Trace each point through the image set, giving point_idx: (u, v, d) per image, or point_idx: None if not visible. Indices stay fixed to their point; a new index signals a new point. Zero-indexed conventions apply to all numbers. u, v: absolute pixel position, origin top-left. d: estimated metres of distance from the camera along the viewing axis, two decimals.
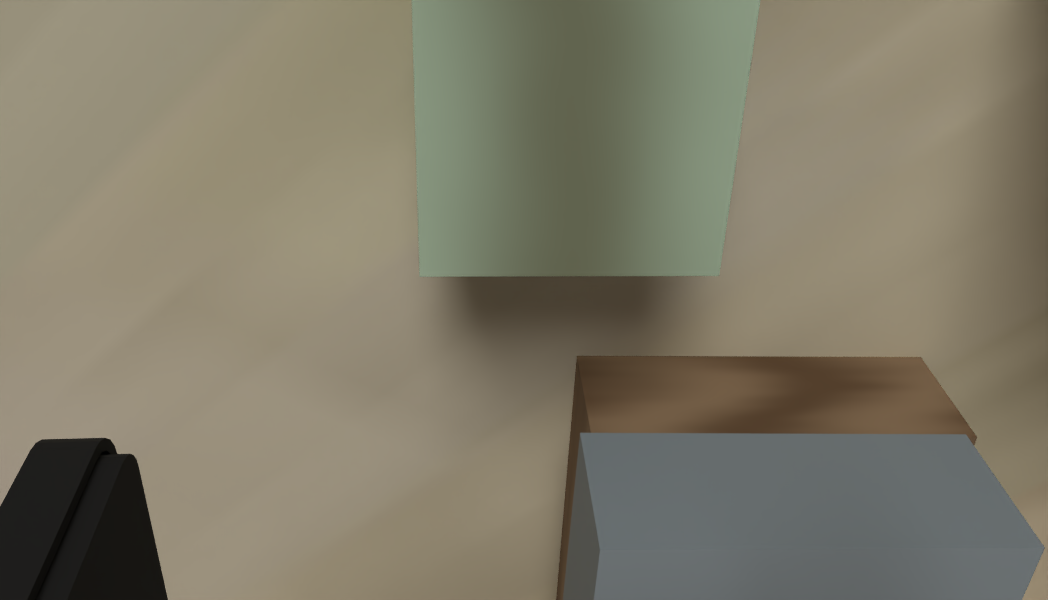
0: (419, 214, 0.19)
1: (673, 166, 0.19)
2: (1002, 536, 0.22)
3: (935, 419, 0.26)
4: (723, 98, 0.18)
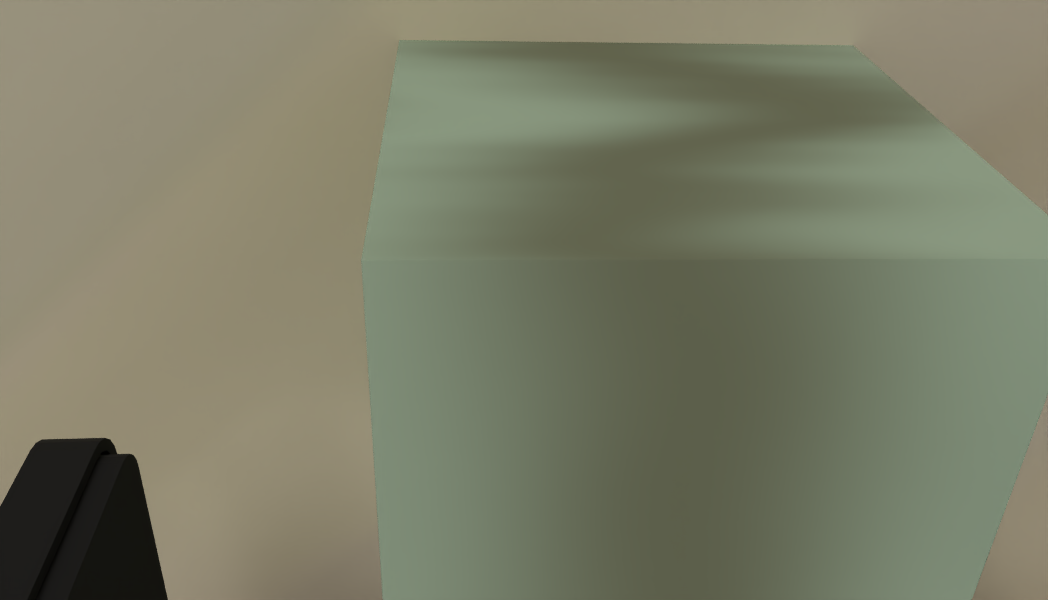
0: None
1: (866, 576, 0.10)
2: None
3: None
4: (976, 473, 0.09)
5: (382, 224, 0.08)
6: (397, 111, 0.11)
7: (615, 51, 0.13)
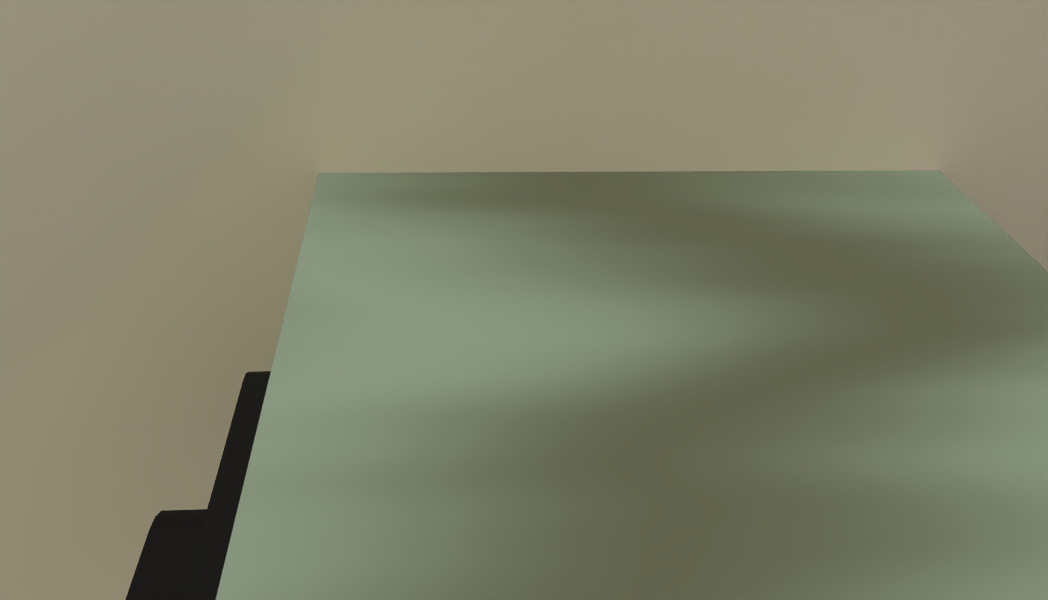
0: None
1: None
2: None
3: None
4: None
5: None
6: (296, 329, 0.07)
7: (620, 192, 0.09)
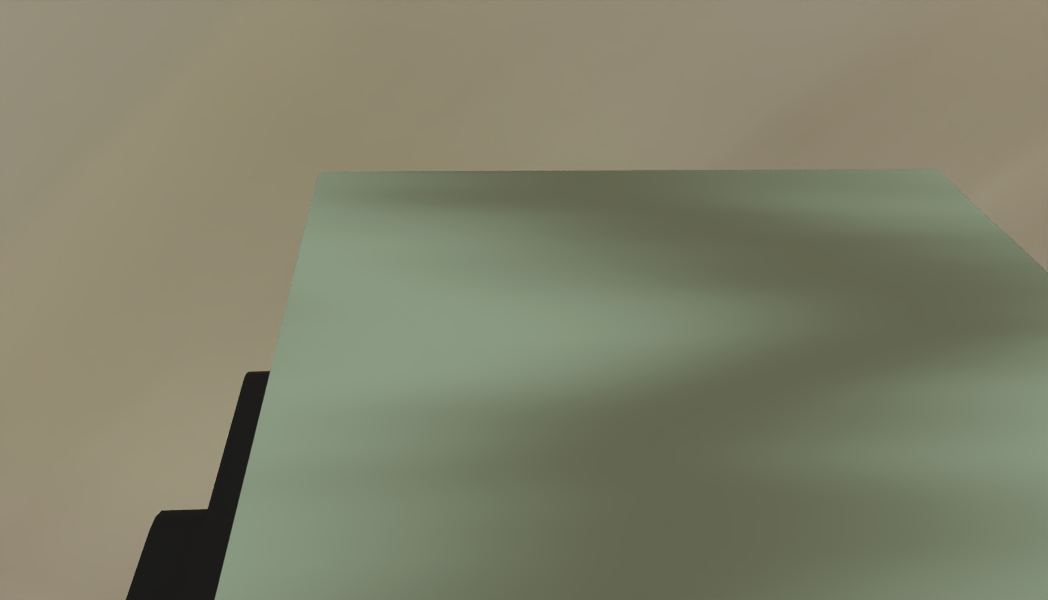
0: None
1: None
2: None
3: None
4: None
5: None
6: (296, 327, 0.07)
7: (618, 191, 0.09)
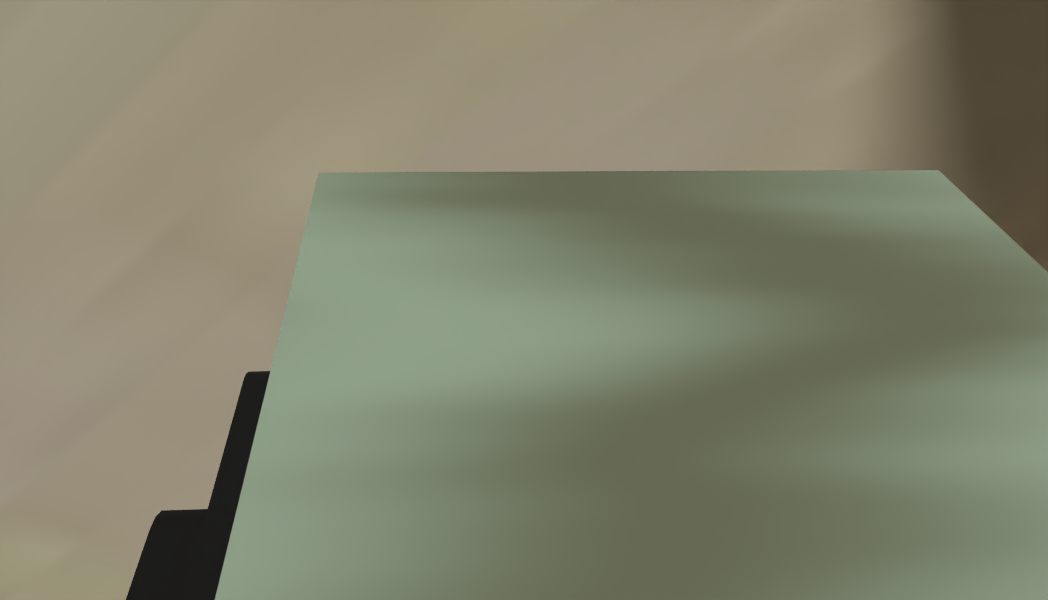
0: None
1: None
2: None
3: None
4: None
5: None
6: (296, 329, 0.07)
7: (619, 192, 0.09)
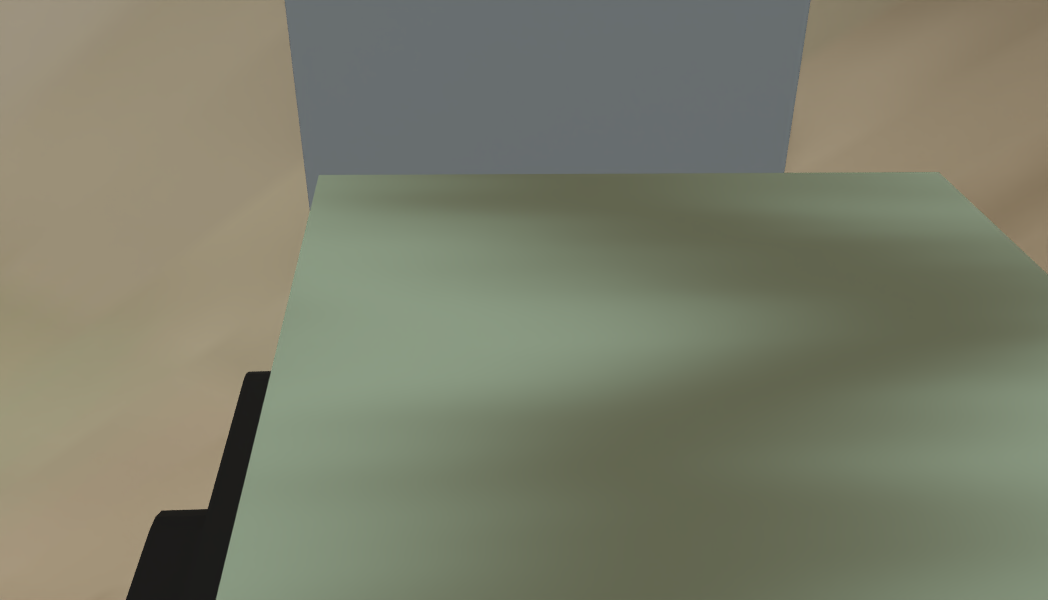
0: None
1: None
2: None
3: None
4: None
5: None
6: (295, 332, 0.07)
7: (619, 194, 0.09)
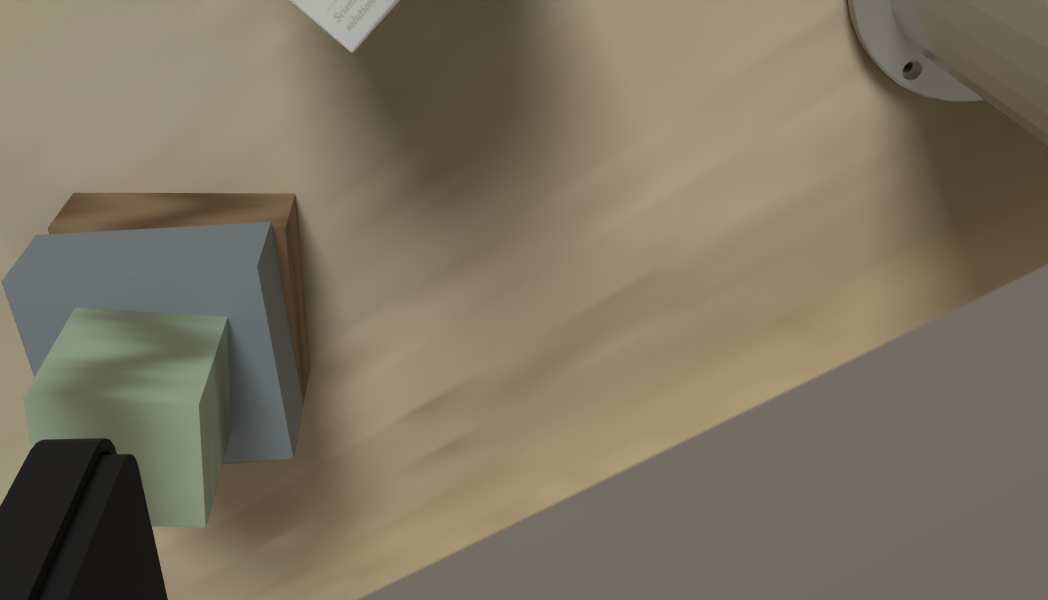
0: None
1: (170, 480, 0.38)
2: (238, 263, 0.40)
3: (269, 221, 0.44)
4: (190, 453, 0.37)
5: (32, 386, 0.36)
6: (56, 345, 0.38)
7: (143, 317, 0.40)
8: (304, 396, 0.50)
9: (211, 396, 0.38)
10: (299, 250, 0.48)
